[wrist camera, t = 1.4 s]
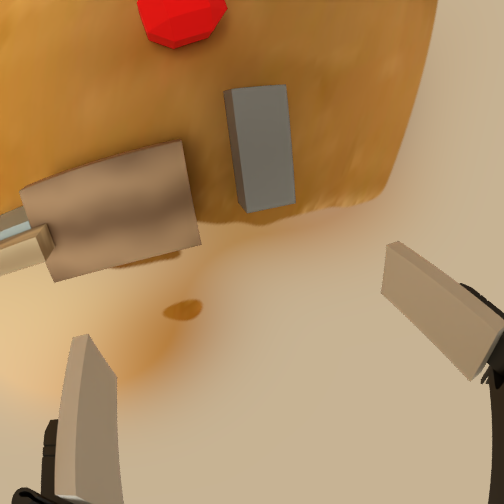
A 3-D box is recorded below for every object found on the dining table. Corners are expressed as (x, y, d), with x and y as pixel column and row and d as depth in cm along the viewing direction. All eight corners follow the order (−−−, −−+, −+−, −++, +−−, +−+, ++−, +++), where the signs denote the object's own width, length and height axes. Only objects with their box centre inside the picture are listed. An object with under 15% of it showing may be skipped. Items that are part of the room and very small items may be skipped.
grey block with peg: (-10, 219, 27) (-61, 269, 16) (55, 193, 29) (10, 239, 18) (0, 245, 29) (-44, 302, 18) (65, 223, 31) (28, 280, 20)
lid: (26, 185, 22) (18, 191, 20) (180, 138, 25) (181, 140, 23) (59, 272, 27) (54, 282, 25) (198, 236, 30) (201, 244, 28)
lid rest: (223, 91, 30) (231, 89, 27) (272, 86, 31) (285, 84, 28) (238, 202, 37) (247, 213, 34) (282, 193, 38) (295, 203, 35)
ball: (202, -16, 23) (214, -43, 16) (222, 37, 27) (239, 19, 20) (135, 4, 22) (130, -21, 15) (154, 59, 26) (153, 44, 20)
